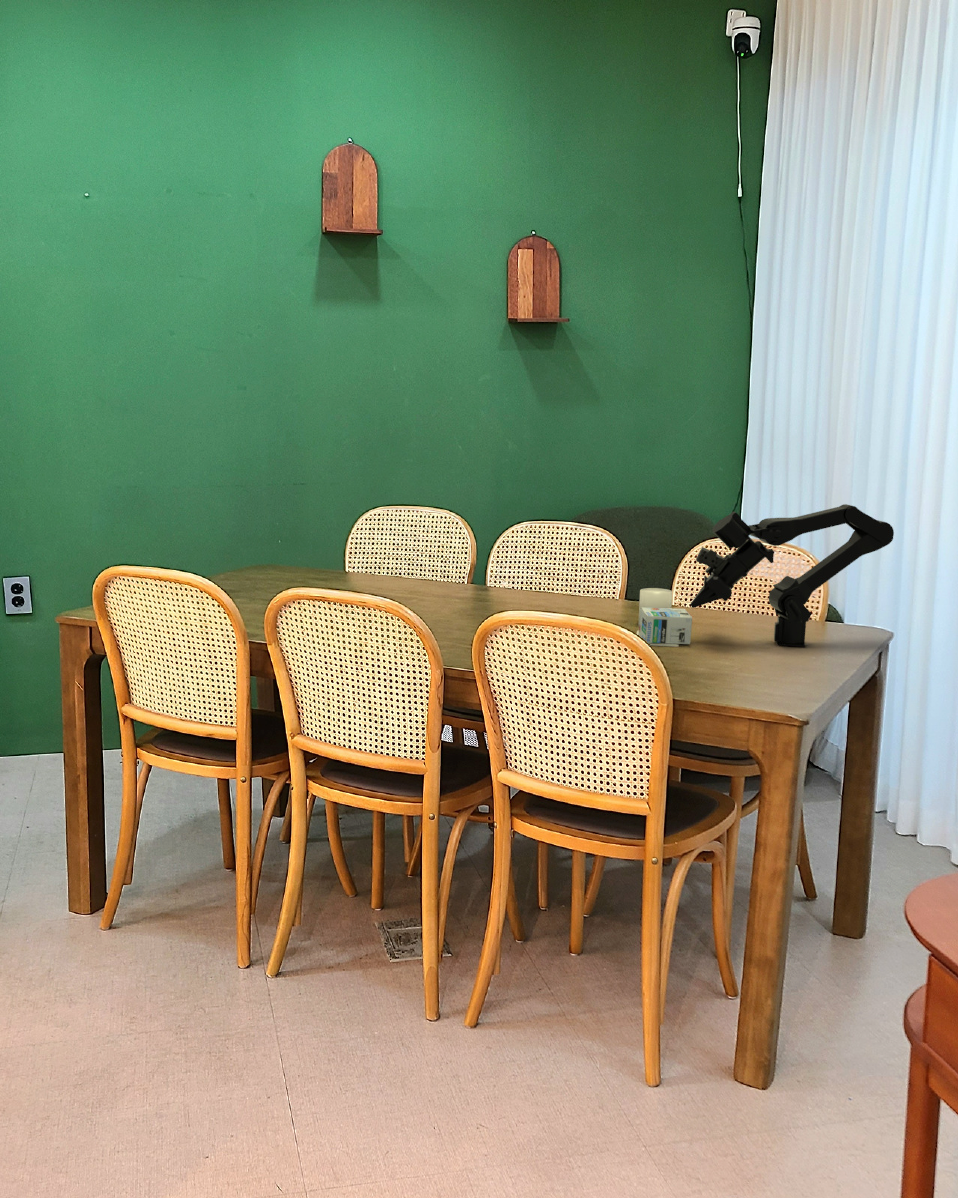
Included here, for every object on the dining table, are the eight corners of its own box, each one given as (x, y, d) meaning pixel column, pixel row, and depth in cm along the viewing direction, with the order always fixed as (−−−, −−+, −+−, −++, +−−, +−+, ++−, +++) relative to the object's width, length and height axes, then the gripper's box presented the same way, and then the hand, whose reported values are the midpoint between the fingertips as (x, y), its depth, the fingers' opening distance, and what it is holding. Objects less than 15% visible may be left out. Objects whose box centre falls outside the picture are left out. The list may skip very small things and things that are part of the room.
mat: (678, 634, 268) (678, 632, 268) (678, 646, 254) (678, 645, 254) (637, 632, 269) (637, 630, 269) (634, 644, 256) (634, 642, 256)
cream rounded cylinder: (670, 623, 281) (672, 588, 279) (670, 630, 273) (672, 594, 271) (639, 621, 282) (640, 587, 280) (637, 628, 274) (639, 592, 273)
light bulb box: (693, 616, 254) (646, 615, 254) (691, 645, 255) (644, 643, 255) (684, 607, 264) (639, 606, 264) (682, 635, 265) (637, 633, 265)
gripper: (716, 531, 264) (668, 575, 268) (718, 541, 246) (667, 588, 250) (748, 565, 264) (700, 608, 268) (753, 577, 246) (701, 623, 250)
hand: (691, 606), depth 259 cm, fingers closed
